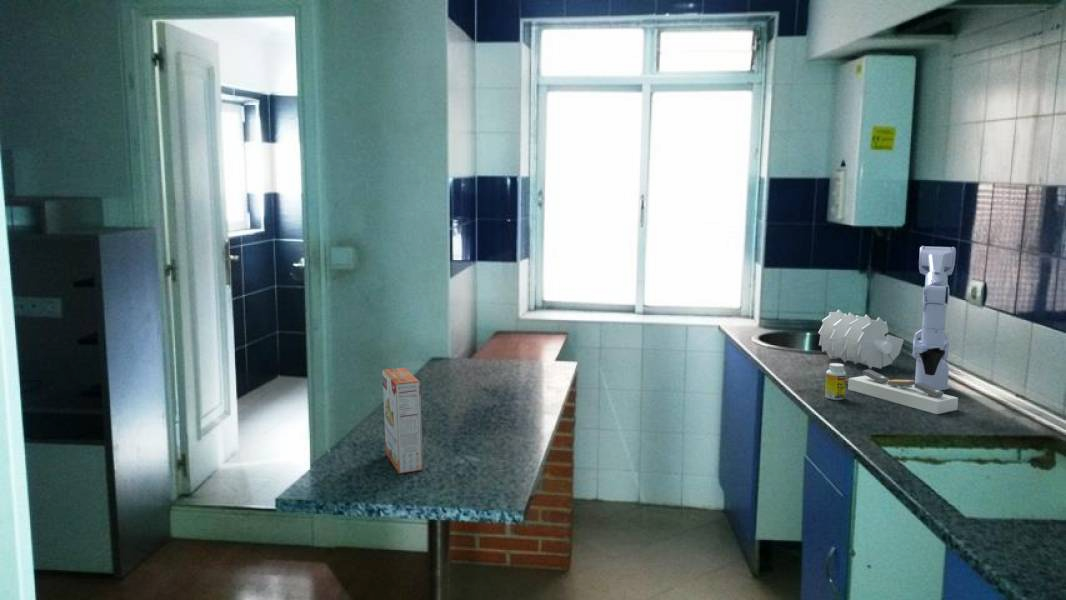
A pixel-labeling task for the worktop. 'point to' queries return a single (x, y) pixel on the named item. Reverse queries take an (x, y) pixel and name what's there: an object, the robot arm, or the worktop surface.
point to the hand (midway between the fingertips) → (929, 374)
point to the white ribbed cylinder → (858, 339)
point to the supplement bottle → (835, 382)
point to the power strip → (903, 395)
